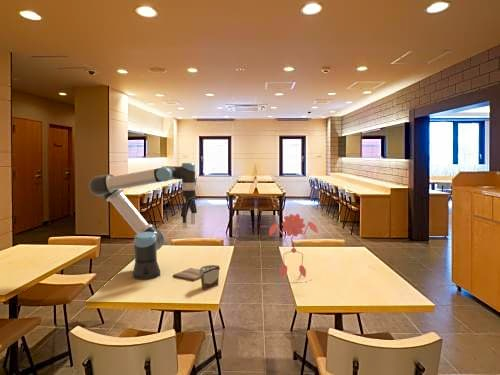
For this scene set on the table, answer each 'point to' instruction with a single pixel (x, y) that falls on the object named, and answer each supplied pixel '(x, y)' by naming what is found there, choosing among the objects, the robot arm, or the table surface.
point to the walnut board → (189, 274)
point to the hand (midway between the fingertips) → (189, 226)
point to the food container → (209, 276)
